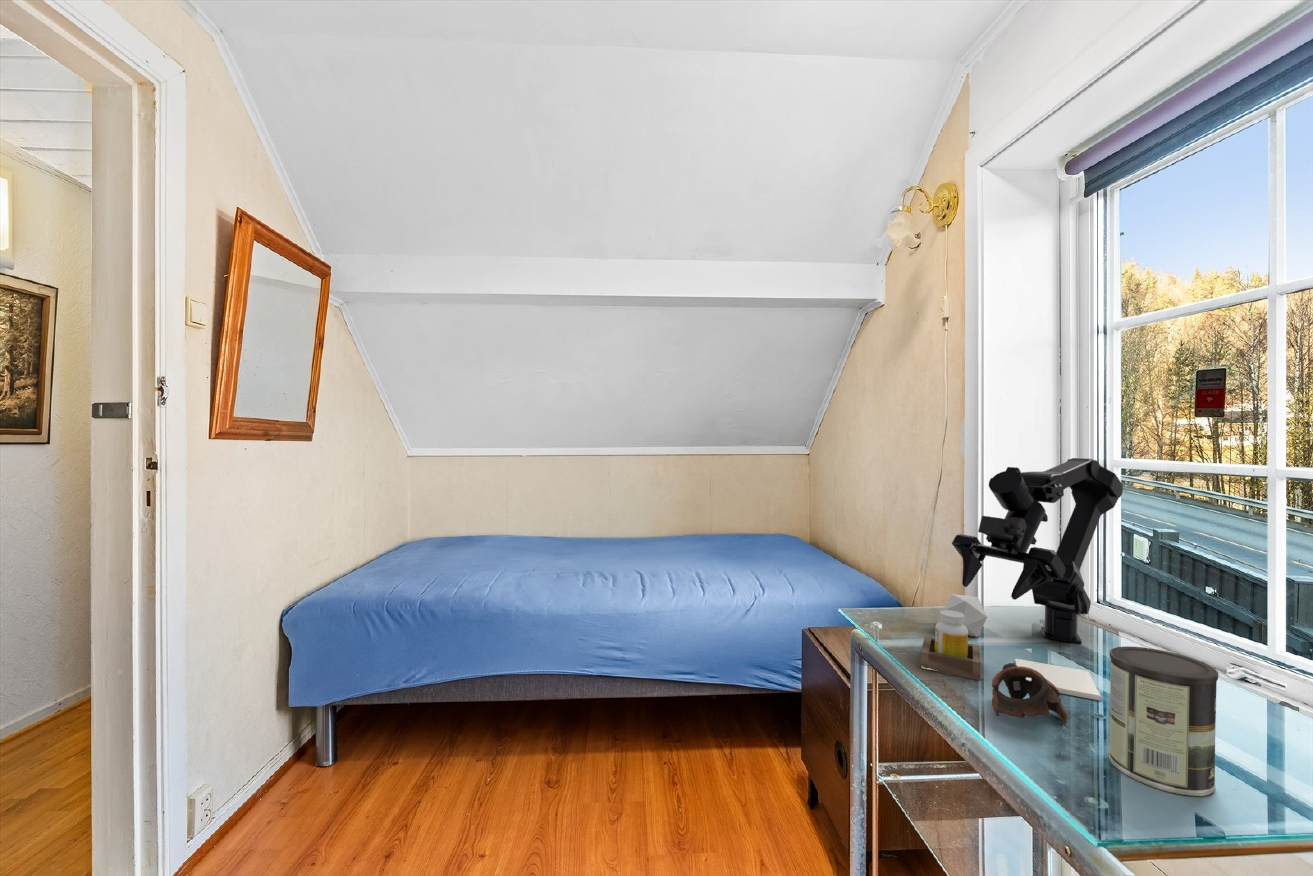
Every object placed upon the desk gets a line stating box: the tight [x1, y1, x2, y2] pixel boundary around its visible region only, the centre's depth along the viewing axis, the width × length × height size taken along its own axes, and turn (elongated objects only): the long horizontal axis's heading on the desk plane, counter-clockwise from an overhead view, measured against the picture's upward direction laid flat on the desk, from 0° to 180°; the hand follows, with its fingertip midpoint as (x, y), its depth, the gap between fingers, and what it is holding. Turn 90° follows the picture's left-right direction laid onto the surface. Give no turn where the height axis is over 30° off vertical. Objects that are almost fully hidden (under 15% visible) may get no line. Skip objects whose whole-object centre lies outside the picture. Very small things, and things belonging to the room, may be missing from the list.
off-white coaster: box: [1014, 658, 1102, 702], centre depth 99 cm, size 11×11×1 cm
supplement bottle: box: [934, 609, 969, 658], centre depth 105 cm, size 5×5×10 cm
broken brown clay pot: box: [991, 662, 1068, 725], centre depth 87 cm, size 12×10×8 cm
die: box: [943, 593, 988, 638], centre depth 123 cm, size 8×9×10 cm
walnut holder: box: [920, 635, 982, 681], centre depth 105 cm, size 9×9×3 cm
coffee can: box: [1108, 646, 1219, 797], centre depth 72 cm, size 10×10×14 cm
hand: (987, 591), depth 107 cm, fingers open, 9 cm apart
